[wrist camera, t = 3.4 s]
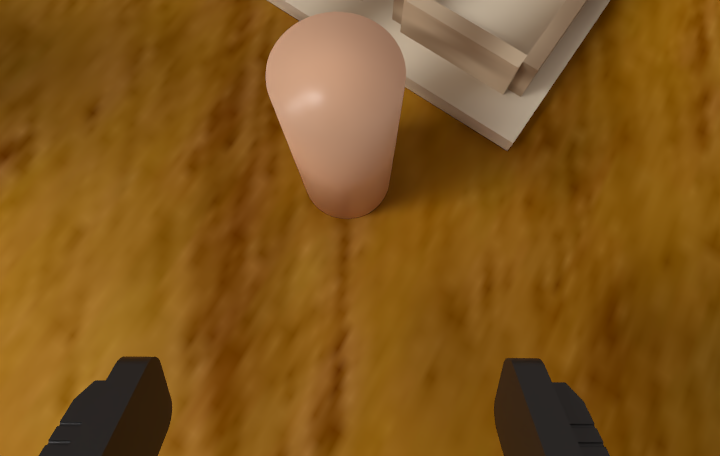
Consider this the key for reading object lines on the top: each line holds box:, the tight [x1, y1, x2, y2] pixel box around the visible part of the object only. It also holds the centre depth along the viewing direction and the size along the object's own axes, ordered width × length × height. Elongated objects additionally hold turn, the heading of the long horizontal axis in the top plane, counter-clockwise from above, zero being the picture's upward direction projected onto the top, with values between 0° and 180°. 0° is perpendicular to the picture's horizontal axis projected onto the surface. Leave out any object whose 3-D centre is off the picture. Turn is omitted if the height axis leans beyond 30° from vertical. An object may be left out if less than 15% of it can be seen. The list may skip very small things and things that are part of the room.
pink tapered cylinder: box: [266, 12, 406, 219], centre depth 20 cm, size 4×4×10 cm
